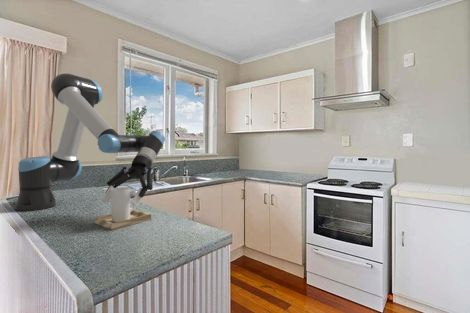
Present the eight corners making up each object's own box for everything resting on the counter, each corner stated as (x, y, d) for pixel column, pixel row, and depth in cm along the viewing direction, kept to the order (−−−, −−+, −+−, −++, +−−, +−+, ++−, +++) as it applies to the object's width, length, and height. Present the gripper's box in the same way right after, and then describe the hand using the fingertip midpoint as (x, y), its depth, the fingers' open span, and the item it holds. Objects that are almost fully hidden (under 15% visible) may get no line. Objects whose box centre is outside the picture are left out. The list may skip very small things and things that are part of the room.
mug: (114, 223, 93) (114, 190, 93) (108, 220, 98) (108, 188, 98) (141, 218, 100) (141, 187, 100) (134, 215, 105) (134, 186, 105)
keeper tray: (95, 223, 97) (95, 217, 97) (133, 214, 109) (133, 209, 109) (111, 230, 89) (111, 224, 89) (151, 219, 102) (151, 214, 101)
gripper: (173, 166, 109) (151, 210, 96) (124, 165, 117) (98, 205, 103) (165, 154, 104) (142, 199, 90) (115, 153, 111) (86, 195, 98)
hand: (118, 202), depth 97 cm, fingers open, 13 cm apart
